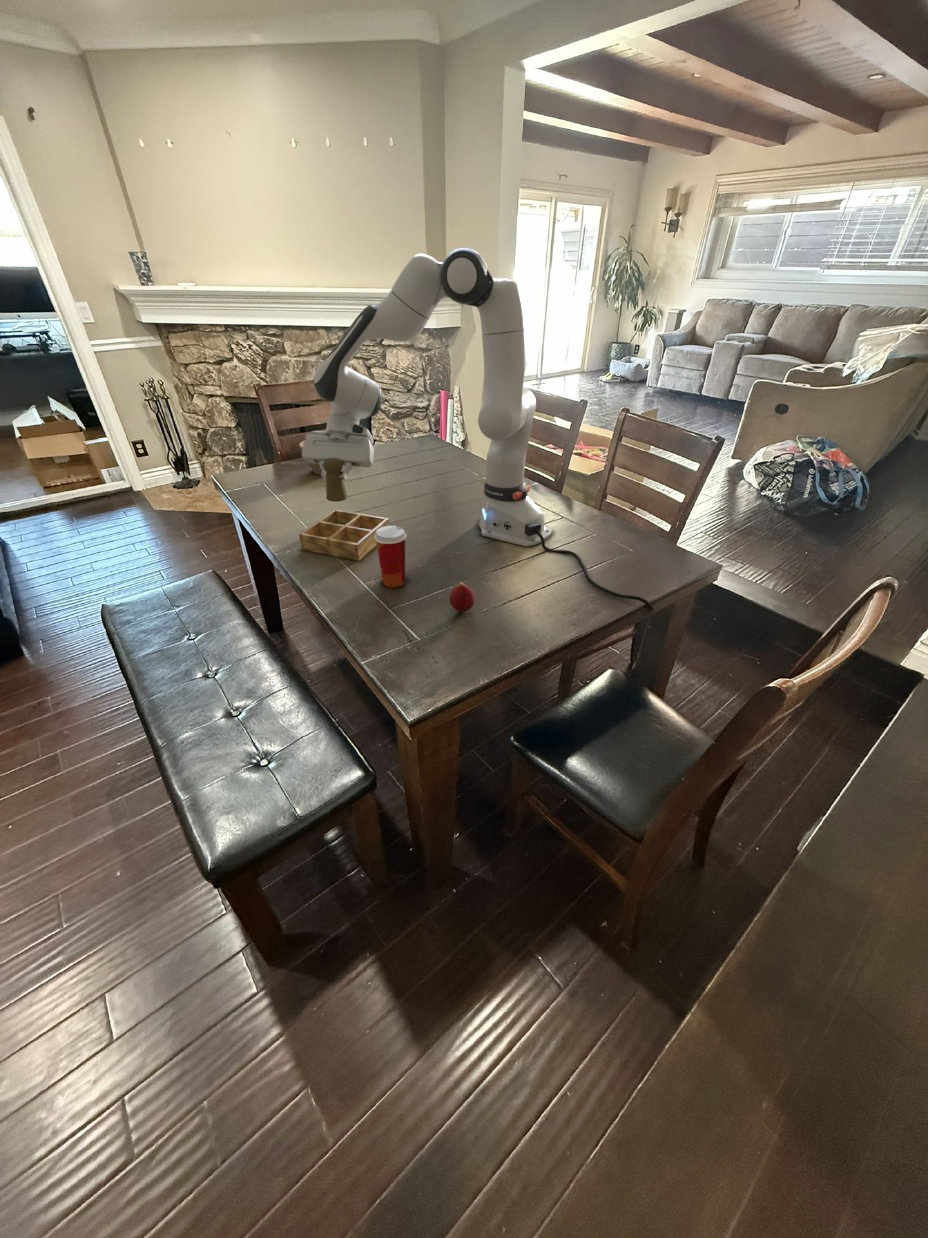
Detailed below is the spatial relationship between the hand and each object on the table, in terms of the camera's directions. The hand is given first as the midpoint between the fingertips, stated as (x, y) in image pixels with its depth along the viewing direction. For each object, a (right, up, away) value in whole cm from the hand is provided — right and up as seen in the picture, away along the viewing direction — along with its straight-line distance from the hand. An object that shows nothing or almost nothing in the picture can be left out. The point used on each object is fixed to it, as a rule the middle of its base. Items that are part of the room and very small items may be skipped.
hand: (333, 478), depth 143 cm
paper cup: (+19, -30, -13) cm, 38 cm away
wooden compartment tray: (+3, -17, +6) cm, 18 cm away
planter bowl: (-17, +17, +54) cm, 59 cm away
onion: (+36, -38, -24) cm, 58 cm away
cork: (0, -5, +4) cm, 6 cm away
